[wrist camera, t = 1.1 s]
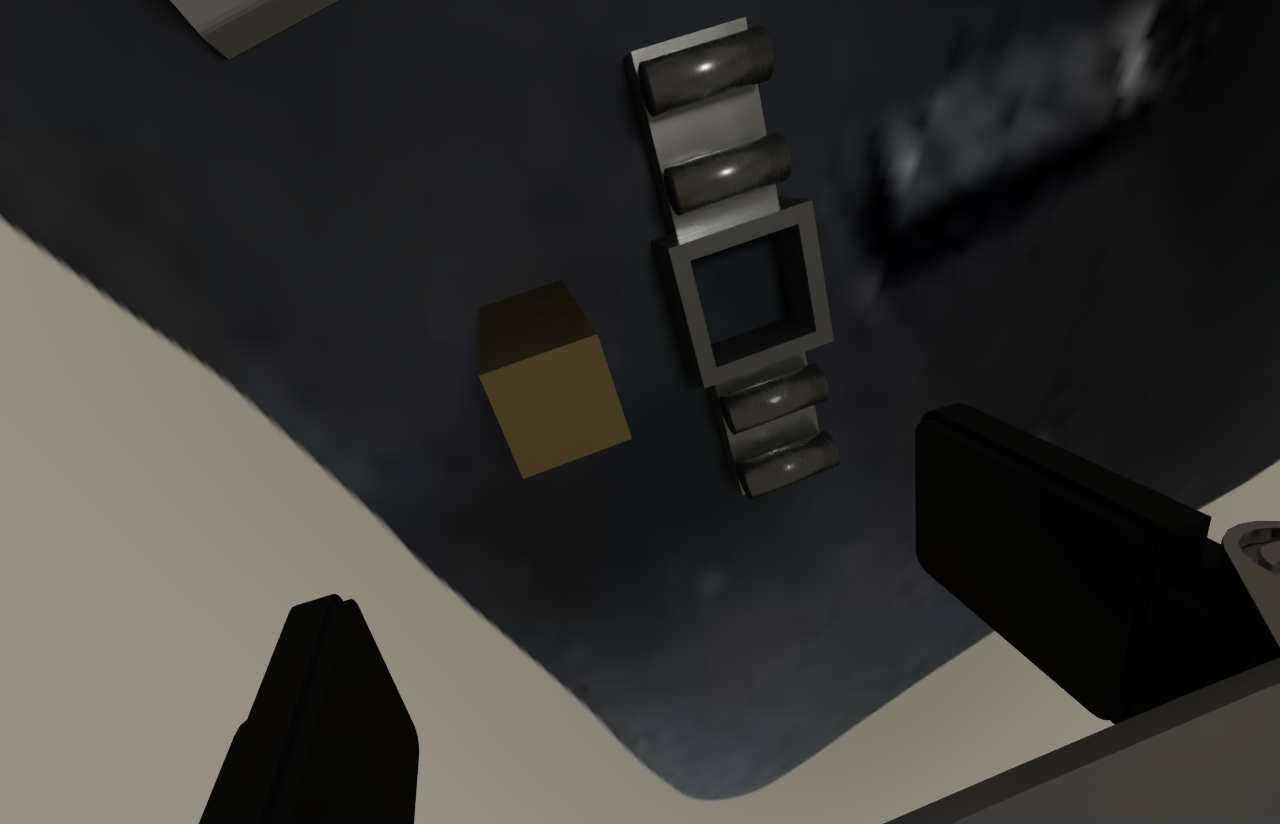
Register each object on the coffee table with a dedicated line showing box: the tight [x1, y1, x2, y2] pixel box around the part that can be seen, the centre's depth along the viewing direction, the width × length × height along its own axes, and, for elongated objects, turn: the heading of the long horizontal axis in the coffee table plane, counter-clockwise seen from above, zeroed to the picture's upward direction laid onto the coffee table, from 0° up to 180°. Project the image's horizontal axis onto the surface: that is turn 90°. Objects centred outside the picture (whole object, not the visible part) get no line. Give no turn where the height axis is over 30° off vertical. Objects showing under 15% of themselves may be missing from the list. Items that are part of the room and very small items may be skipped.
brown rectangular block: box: [479, 280, 632, 479], centre depth 25 cm, size 4×4×10 cm
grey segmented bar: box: [623, 17, 840, 500], centre depth 30 cm, size 7×22×4 cm, turn 17°
